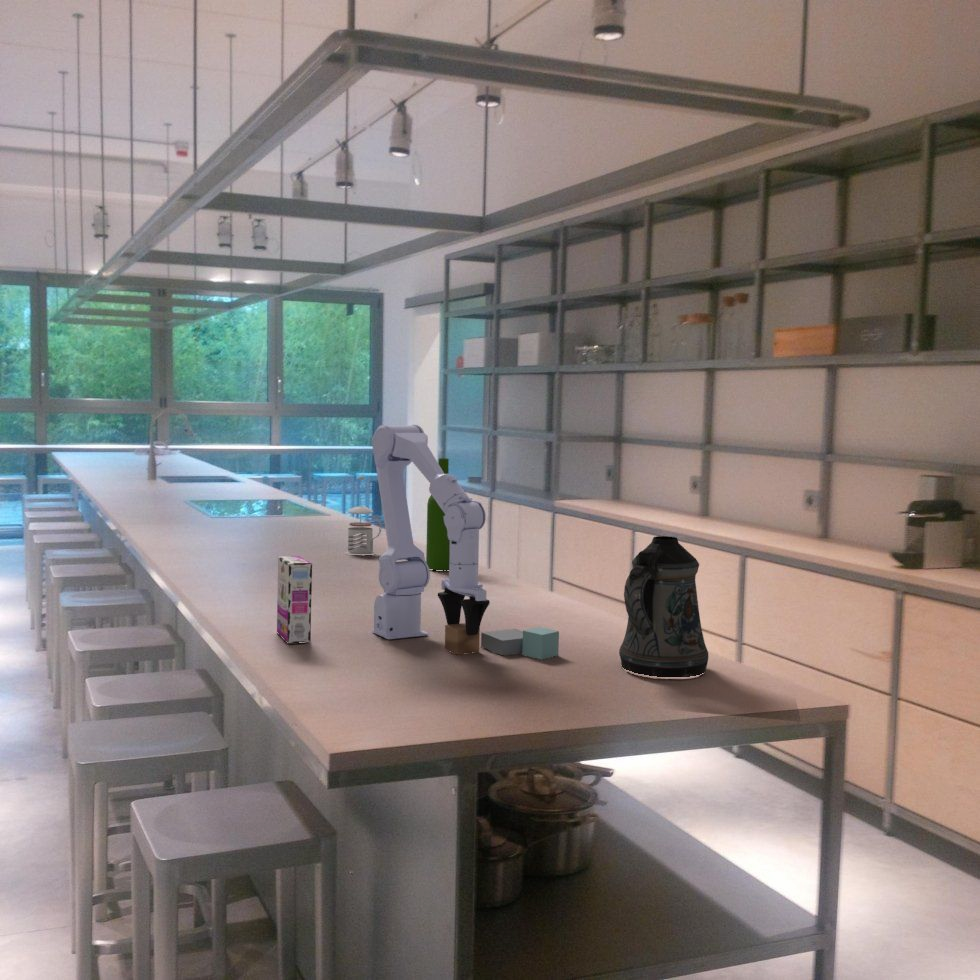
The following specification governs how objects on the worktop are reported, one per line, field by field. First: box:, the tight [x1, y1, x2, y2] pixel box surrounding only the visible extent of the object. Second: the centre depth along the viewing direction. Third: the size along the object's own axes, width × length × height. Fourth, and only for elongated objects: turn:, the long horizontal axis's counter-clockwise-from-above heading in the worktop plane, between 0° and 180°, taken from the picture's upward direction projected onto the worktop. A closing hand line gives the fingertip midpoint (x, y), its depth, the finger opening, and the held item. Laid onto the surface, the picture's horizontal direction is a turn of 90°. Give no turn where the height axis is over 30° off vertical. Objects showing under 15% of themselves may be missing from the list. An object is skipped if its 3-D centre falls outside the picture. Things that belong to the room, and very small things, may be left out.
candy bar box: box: [276, 555, 313, 643], centre depth 212 cm, size 11×5×16 cm, turn 23°
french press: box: [345, 475, 383, 554], centre depth 330 cm, size 10×12×25 cm
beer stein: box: [618, 535, 709, 677], centre depth 193 cm, size 16×19×25 cm
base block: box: [480, 628, 523, 656], centre depth 208 cm, size 8×8×3 cm
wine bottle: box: [425, 457, 450, 570], centre depth 304 cm, size 9×9×32 cm
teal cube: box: [521, 626, 560, 660], centre depth 203 cm, size 5×5×5 cm
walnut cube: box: [444, 622, 481, 655], centre depth 206 cm, size 5×5×5 cm
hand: (462, 631), depth 206 cm, fingers open, 7 cm apart
